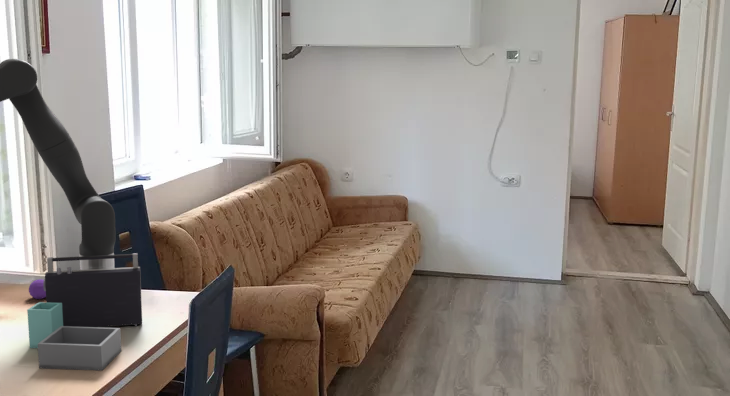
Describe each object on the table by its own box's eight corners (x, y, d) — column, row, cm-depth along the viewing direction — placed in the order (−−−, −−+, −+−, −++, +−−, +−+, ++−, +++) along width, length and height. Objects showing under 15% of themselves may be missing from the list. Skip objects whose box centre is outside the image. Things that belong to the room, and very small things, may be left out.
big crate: (39, 368, 172) (37, 343, 171) (62, 348, 183) (60, 326, 182) (102, 370, 171) (101, 346, 170) (121, 350, 183) (120, 328, 182)
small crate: (29, 347, 184) (27, 309, 182) (41, 339, 190) (38, 302, 188) (53, 348, 183) (51, 310, 182) (64, 340, 189) (61, 302, 188)
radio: (142, 319, 205) (139, 250, 202) (142, 326, 200) (139, 255, 197) (48, 326, 199) (44, 255, 195) (45, 333, 194) (41, 260, 190)
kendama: (99, 284, 225) (28, 284, 218) (98, 301, 226) (27, 302, 219) (99, 275, 230) (29, 275, 223) (99, 292, 232) (29, 293, 225)
